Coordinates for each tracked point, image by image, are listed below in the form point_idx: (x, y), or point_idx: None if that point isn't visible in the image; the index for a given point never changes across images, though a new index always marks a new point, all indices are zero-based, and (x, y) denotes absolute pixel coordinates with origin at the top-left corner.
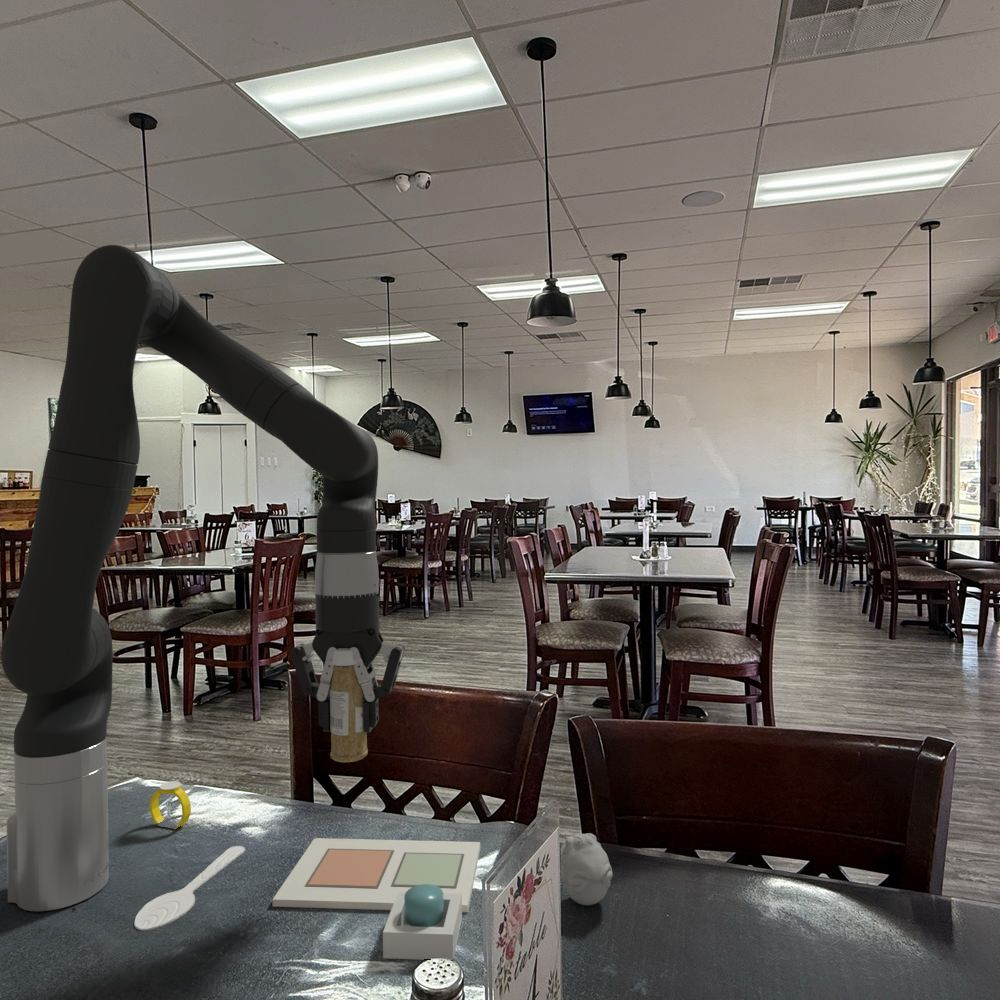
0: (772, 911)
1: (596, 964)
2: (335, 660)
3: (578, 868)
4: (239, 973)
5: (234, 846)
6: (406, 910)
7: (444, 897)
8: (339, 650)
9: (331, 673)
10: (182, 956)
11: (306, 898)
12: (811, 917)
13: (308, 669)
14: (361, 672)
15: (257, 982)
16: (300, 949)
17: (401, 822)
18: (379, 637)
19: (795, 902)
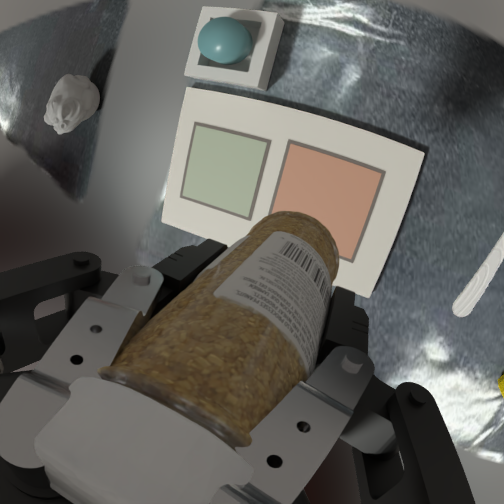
0: (16, 90)
1: (110, 19)
2: (198, 466)
3: (71, 81)
4: (437, 37)
5: (462, 316)
6: (245, 29)
7: (203, 69)
8: None
9: (273, 417)
10: (500, 89)
11: (382, 140)
12: (7, 85)
13: (399, 498)
14: (89, 331)
15: (415, 18)
16: (379, 55)
17: None
18: None
19: (6, 101)
